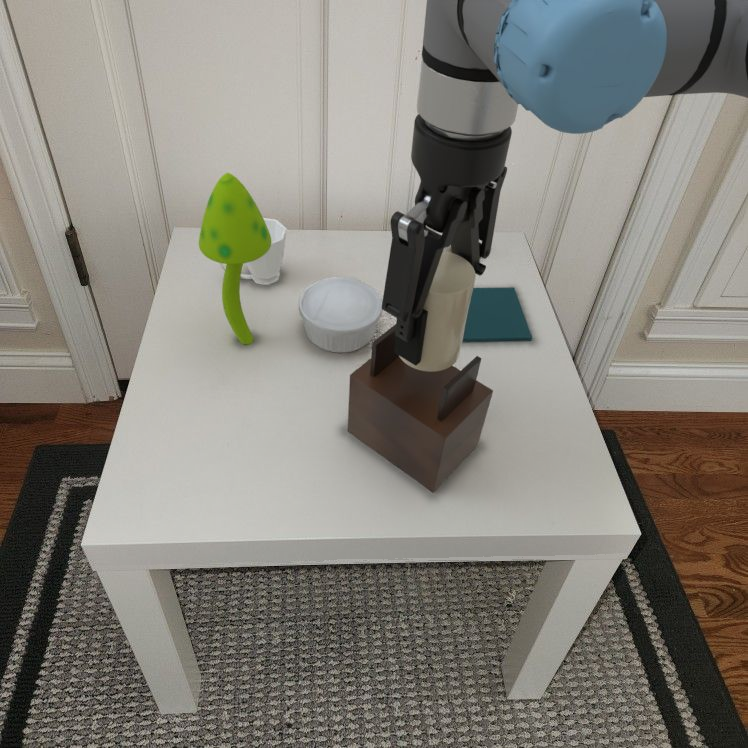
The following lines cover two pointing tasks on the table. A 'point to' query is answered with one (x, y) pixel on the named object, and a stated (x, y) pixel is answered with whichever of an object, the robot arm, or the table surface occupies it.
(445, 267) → the cream cylinder
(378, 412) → the holder
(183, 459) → the table surface
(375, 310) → the ramekin
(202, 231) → the mushroom
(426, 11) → the robot arm
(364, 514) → the table surface
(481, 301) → the mat
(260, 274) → the cup
